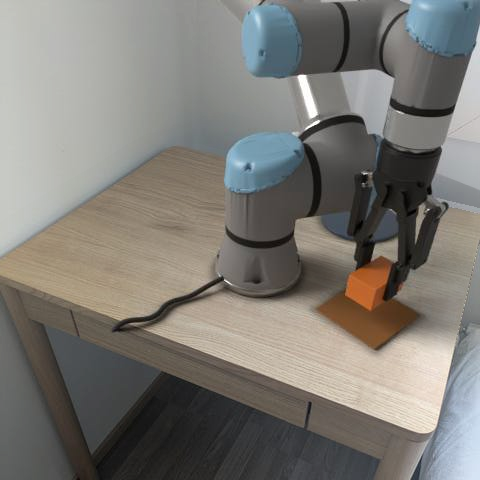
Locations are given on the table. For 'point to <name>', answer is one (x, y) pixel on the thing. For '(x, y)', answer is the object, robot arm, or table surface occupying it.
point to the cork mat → (368, 318)
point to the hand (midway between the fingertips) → (374, 287)
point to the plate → (385, 230)
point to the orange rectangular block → (370, 283)
